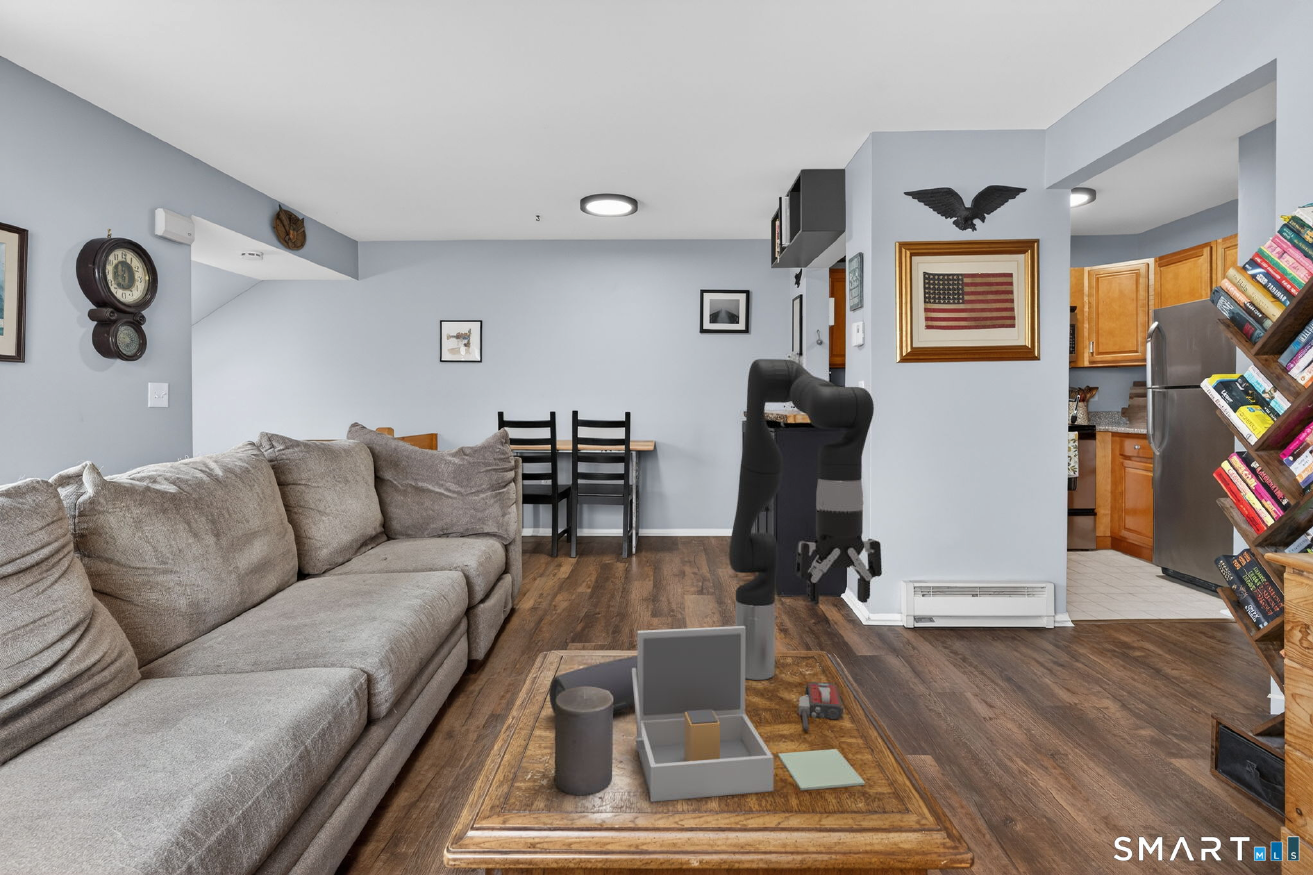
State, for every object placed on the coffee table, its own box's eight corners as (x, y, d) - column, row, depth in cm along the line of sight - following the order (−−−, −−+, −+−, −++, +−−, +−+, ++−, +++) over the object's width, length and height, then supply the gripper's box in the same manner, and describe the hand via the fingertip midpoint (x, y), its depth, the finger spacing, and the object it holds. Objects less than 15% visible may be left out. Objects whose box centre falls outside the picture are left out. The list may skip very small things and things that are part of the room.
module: (684, 757, 113) (684, 710, 113) (712, 755, 114) (712, 708, 114) (690, 772, 108) (690, 723, 108) (719, 770, 109) (719, 721, 109)
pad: (778, 755, 116) (778, 753, 116) (836, 751, 117) (836, 748, 117) (801, 790, 105) (801, 787, 105) (865, 784, 107) (865, 782, 107)
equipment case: (630, 746, 119) (630, 630, 118) (742, 738, 122) (743, 624, 122) (643, 802, 101) (643, 666, 101) (773, 790, 105) (774, 658, 104)
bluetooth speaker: (642, 690, 144) (642, 645, 144) (666, 705, 136) (666, 658, 136) (547, 716, 131) (547, 667, 131) (568, 734, 123) (568, 682, 123)
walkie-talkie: (796, 692, 144) (799, 735, 124) (797, 672, 144) (800, 712, 124) (837, 695, 142) (847, 739, 123) (838, 675, 142) (847, 716, 123)
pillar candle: (542, 779, 108) (542, 690, 107) (586, 757, 115) (587, 673, 114) (580, 803, 101) (581, 709, 101) (625, 778, 108) (626, 690, 108)
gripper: (868, 502, 113) (867, 595, 114) (790, 504, 111) (789, 598, 111) (890, 508, 106) (889, 607, 106) (807, 510, 104) (806, 610, 104)
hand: (838, 602), depth 109 cm, fingers open, 8 cm apart
